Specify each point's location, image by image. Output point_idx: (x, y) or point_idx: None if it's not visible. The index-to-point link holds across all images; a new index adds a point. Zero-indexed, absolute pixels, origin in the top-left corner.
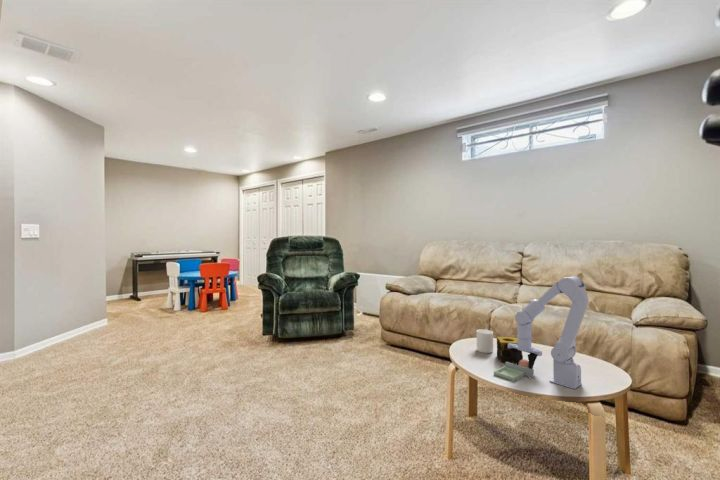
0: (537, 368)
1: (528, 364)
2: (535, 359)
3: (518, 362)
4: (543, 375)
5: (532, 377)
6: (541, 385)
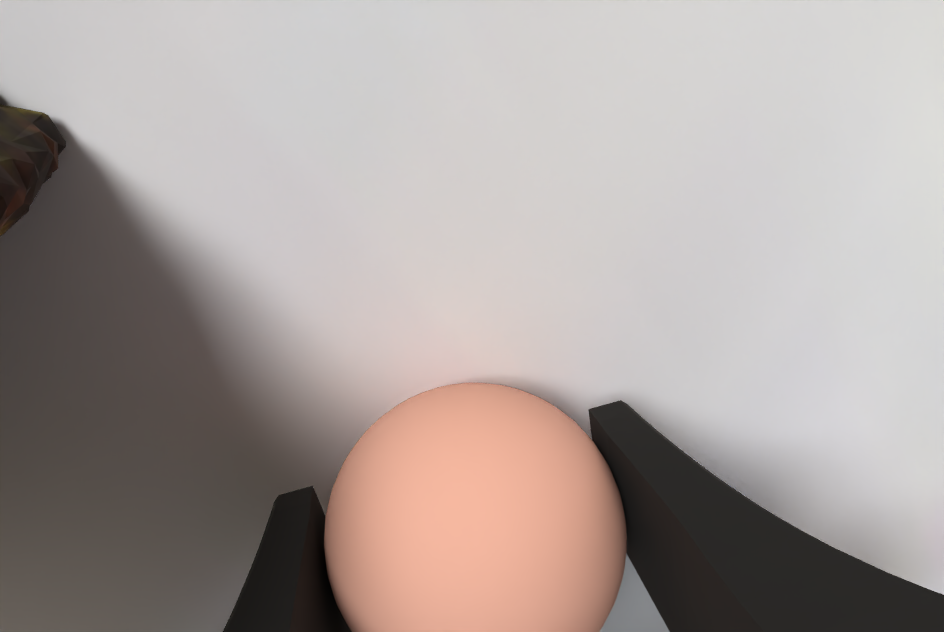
0: (523, 23)
1: (621, 577)
2: (835, 563)
3: (337, 619)
4: (816, 288)
5: None
6: None
